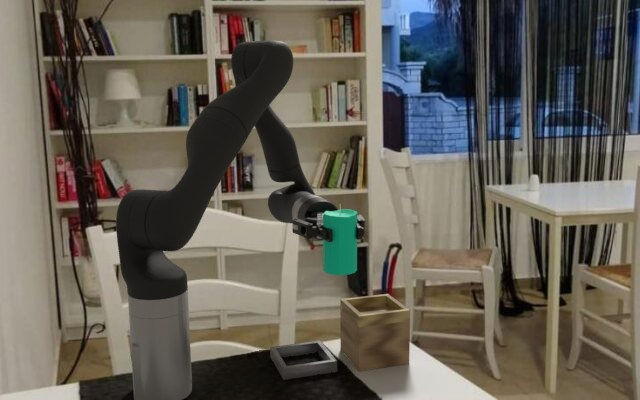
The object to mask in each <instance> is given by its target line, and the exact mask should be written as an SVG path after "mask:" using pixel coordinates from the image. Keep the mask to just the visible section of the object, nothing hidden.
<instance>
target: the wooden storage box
mask: <svg viewBox="0 0 640 400" xmlns="http://www.w3.org/2000/svg"><path fill="white" fill-rule="evenodd" d="M339 301H340V307H339V308H340V316H339V317H340V318H339V319H340V328H339V329H340V352H342V354H343V355H344V356H345V357H346V358H347V360H349V361H350V362H351V364H352V365H353V367H355V368H356V369H357V371H359V372H363V371H369V370H370V371H371V370H377V369H383V368H389V367H395V366H402V365H409V364H410V345H411V344H410V340H411V339H410V338H411V337H410V336H411V334H410V333H411V332H410V330H411V310H410V309H409V308H408V307H407V306H405V305H404V304H402V303H401V302H400V301H399V300H397V299H396V298H394V297H393V296H391V294H389V293H384V294H375V295H366V296H357V297H348V298H340V300H339Z"/></svg>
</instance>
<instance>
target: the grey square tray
mask: <svg viewBox="0 0 640 400" xmlns="http://www.w3.org/2000/svg"><path fill="white" fill-rule="evenodd" d="M269 349H270V351H269V353H270V355H269V356H270V359H271V360H272V363H273V362H274V363H273V364H274V366H275V368H276V369H277V371H278V372H279V375H280V376H281V378H282V380H284V381H285V380H292V379H298V378H305V377H312V376H318V374H319V375H325V374H332V373H337V372H338V360H337V359H336V357H334V355H333V354H332V353H331V351H329V349H328V348H327V347H326V346H325V345H324V344H323V342H322V341H321V340H313V341H306V342H299V343H292V344H285V345H283V344H282V345H277V346H270V347H269ZM315 352H318V353H319V354H318V353H317V354H318V356H319V357H320V356H321V357H322V358H323V359H322V358H321V357H320V358H321V359H322V360H320V361H313V362H307V363H299V364H294V365H293V364H292V365H287V364H286V363H285V361H284V359H283V358H282V357H284V358H289V356H291V357H295V356H296V357H297V356H298V357H299V356H304V354H305V355H310V354H309V353H312V354H316V353H315ZM331 372H332V373H331Z"/></svg>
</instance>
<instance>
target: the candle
mask: <svg viewBox="0 0 640 400" xmlns="http://www.w3.org/2000/svg"><path fill="white" fill-rule="evenodd" d="M357 214H358V211H357V210H353V209H347V208H346V209H345V208H342V209H341V203H339V209H338V210H336V211H325V212H324V213H323V226H324V227H326V228H329V229H332V231H333V241H332V242H327V241H326V240H323V239H322V257H323V259H322V263H323V265H322V269H323V272H324V273H326V274H328V275H332V276H347V275H352V274H355V273H356V272H357V271H358V239H356V226H357Z"/></svg>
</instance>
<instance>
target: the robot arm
mask: <svg viewBox="0 0 640 400" xmlns="http://www.w3.org/2000/svg"><path fill="white" fill-rule="evenodd" d="M230 61H231V64H230V66H231V72H232V75H233V79H234V81H235V84H236V86H235V87H233V88H230V89H229V90H228V91H225V92H224V93H222V94H220V95H219V96H218V97H216V98H214V99H213V100H211V101H210V102H209V103H208V104H207V105H205V107H204V108H202V111H201V112H200V113H199V115H198V116H197V117H196V119H195V120H194V121H193V123H192V124H191V125H190V127H189V129H188V131H187V134H186V140H185V152H186V158H187V168H186V169H185V172H184V174H183V175H182V176H181V178H180V180H179V181H178V183H177V184H176V185H175V186H174V187H173V188H171V189H170V190H158V189H157V190H156V189H143V188H142V189H138V188H137V189H133V190H130V191H129V192H127V193H126V194H125V195H124V196H122V198H121V200H120V202H119V204H118V207H117V211H116V219H115V230H116V231H115V232H116V240H117V249H118V256H119V264H120V265H119V266H120V272H121V276H122V279H123V281H124V282H125V284H126V289H127V291H126V293H127V303H128V316H129V317H128V320H129V338H130V355H131V356H130V357H131V372H132V386H133V387H132V389H133V400H184V399H186V398H188V397H189V395H191V393H192V391H193V375H192V357H191V354H192V353H191V336H190V335H191V332H190V314H189V313H190V309H189V289H188V288H189V287H188V276H187V275H188V274H187V273H186V271H185V270H184V269H183V267H180V266H178V264H175V262H172V260H170V259H169V258H168V256H167V255H166V254H165V253H164V252H176V251H179V250H181V249H182V248H184V247H185V246H186V245H187V244H188V243H189V242H190V240H191V239H192V237H193V236H194V234H195V233H196V230H197V228H198V226H199V224H200V223H201V220H202V219H203V217H204V215H205V212H206V209H207V208H208V206H209V203H210V201H211V200H212V197H213V195H214V193H215V192H216V189H217V188H218V186H219V184H220V182H221V181H222V179H223V177H224V175H225V174H226V172H227V171H228V170H229V169H228V168H229V167H230V166H231V164H232V162H233V161H234V160H235V159H236V157H237V155H238V154H239V153H240V151H241V150H242V148H243V146H244V144H245V143H246V142H247V140H248V138H249V135H250V134H251V133H252V130H253V129H254V128H255V130H256V133H257V135H258V138H259V140H260V145H261V148H262V152H263V156H264V160H265V164H266V167H267V168H266V169H267V172H268V175H269V177H270V179H271V180H272V181H273V182H276V183H292V184H289V185H287V186H284V187H280V188H278V189H276V190H273V191H272V192H271V193H270V195H269V196H268V198H267V208H268V211H269V212H270V214H271V216H273V218H274V219H275V220H276V221H278V222H281V223H284V224H292V233H293V234H295V235H296V236H297V235H298V236H301V237H303V238H306V239H309V240H310V239H316V240H322V241H323V240H326V241H327V242H332V241H333V231H332V229H329V228H326V227H324V226H323V213H324V212H325V211H336V210H339V209H338V207H337V206H336V205H335V204H334V203H332V202H331V201H329V200H327V199H325V198H323V197H322V196H319V195H316V193H315V191H314V190H313V188H312V186H311V185H310V183H309V182H308V180H307V178H306V175H305V173H304V171H303V168H302V165H301V162H300V157H299V154H298V149H297V144H296V140H295V139H294V136H293V135H292V133H291V131H290V130H289V129H288V127H287V125H285V123H284V122H283V121H282V120H281V118H280V117H279V116H278V115H277V113H276V112H275V111H274V110H273V108H272V106H271V104H272V103H273V101H274V100H275V99H276V98H277V96H279V94H280V93H281V92H282V90H283V89H284V88H285V87H286V86H287V84H288V82H289V81H290V78H291V76H292V73H293V70H294V55H293V52H292V49H291V48H290V46H289V45H288V44H287V43H286V42H283V41H280V40H275V39H269V40H255V41H243V42H239V43H238V44H237V45H235V47H234V49H233V50H232V53H231V58H230ZM365 234H366V219H365V217H364V216H363V214H360V213H357V226H356V239H357V241H359V240H363V237H364V236H365Z"/></svg>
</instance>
